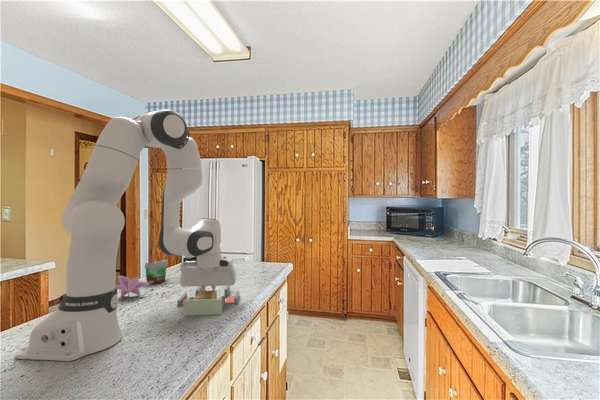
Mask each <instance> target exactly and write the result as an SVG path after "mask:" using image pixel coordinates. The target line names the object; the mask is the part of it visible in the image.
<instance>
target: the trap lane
mask: <svg viewBox="0 0 600 400" xmlns="http://www.w3.org/2000/svg"><path fill="white" fill-rule="evenodd" d="M230 286H231V285H226V286H224V295H221V297H220V298H217V299H196V297H197V295H198V294H199V292H200V291H202V289H201V286H197V288H196V289H195V296H190V297H188V292H183V293H182V295H180V297H178V299H177V304H176V305H177V307H182V306H183V316H210V315H222V313H223V311H224V308H225V305H229V304H230V305H233V304H234V305H238V302H239V299H240V291H238V290H237V291H236V292H235V294H234V295H229V294H230V292H231V291H230V289H231V287H230Z"/></svg>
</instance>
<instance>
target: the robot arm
mask: <svg viewBox="0 0 600 400" xmlns="http://www.w3.org/2000/svg"><path fill="white" fill-rule="evenodd" d="M152 148H157V149H158V148H159V149H161V150H162V151H163V153H164V156H165V159H166V169H167V171H166V172H167V173H166V174H167V176H166V177H167V178H166V184H165V186H164V187H163V190H162V196H161V197H162V198H161V225H160V227H161V228H160V233H159V236H158V237H159V238H158V247H159V249H160V250H161V252H162V253H163V254H165V255H167V256H184V257H195V256H197V261H185V262H184V263H183V262H182V263H181V264H180V265H179V267H180V283H179V284H180V286H181V287H182V288H184V287H185V288H186V287H188V288H189V287H199V286H201V289H202V291H207V289H206V288H207V287H211V291H215V290H216V288H217V287H218V286H219V287H221V286H223V287H226V285H230V286H234V285H235V284H236V283H237V273H236V268H235V266H234V265H233V263H234V262H233V261H234V259H233V258H232V257H231V256H227V255H223V254H222V250H221V244H222V228H221V223H220V221H219V220H218V219H215V218H210V217H209V218H207V217H202V218H199V219H198V222H197V223H196V224H194V225H193V226H191V227H190V228H183V227H181V225H180V214H181V213H180V212H181V203H182V202H183V200H184V199H185V198H187V197H188V196H190V195H192V194H193V193H195V192H196V191H197V190H198V189H200V187H201V185H202V181H203V172H202V162H201V156H200V155H201V154H200V151H199V146H198V145H197V142H196V140H195V139H194V138H193V137H190V132H189V130H188V126H187V123H186V121H185V119H184V117H183V116H182V115H181V114H180V113H179V112H178V111H175V110H173V109H172V110H171V109H160V110H156V111H149V112H146V113H144V114H142V115H138V116H136V117H134V118H133V119H132V118H130V117H125V116H116V117H112V118H110V120H108V122H107V123H106V124H105V126H104V128H103V129H102V131H101V133H100V134H99V136H98V138H97V141H96V142H95V145H94V147H93V150H92V152H91V155H90V157H89V159H88V163H87V165H86V167H85V170H84V172H83V174H82V175H81V178H80V180H79V182H78V183H77V184H76V187H75V188H74V191H73V193H72V194H71V196H70V199H69V201H68V203H67V204H66V206H65V209H64V211H63V213H62V216H61V222H62V227H63V228H64V230H65V231H66V232H67V233H68V234H70V245H69V251H68V258H67V261H66V264H65V266H66V267H65V270H66V271H65V275H66V276H65V282H66V283H65V293H63V294H61V295H60V296H59V297H57V298H55V299H54V303H53V304H58V303H59V305H58V307H57V308H56V309H55V310H54V311H53V312H51V313H50V314H48V316H46V317H45V318H44V319H43V320H41V321H40V322H38V323H37V324H36V325H35V326H34V327H33V328H32V330H31V331H30V332H31V333H30V336H29V339H28V342H27V343H25V344H24V345H23V346H22V347H20V348H19V349H18V350H17V352H16V355H15V359H20V360H36V361H37V360H39V361H41V360H43V361H56V362H57V361H59V362H62V361H63V362H72V361H75V360H77V359H80V358H82V357H85V356H87V355H90V354H94V353H97V352H100V351H103V350H106V349H108V348H111V347H112V346H114V345H116V344H117V343H118V342H119V341H121V340H122V338H123V334H122V332H121V328H120V325H119V320H118V313H117V307H118V303H119V302H118V301H119V300H118V299H119V297H118V289H117V287H116V286H117V284H116V283H117V282H116V276H117V275H116V274H117V273H116V272H117V271H116V269H117V268H116V265H117V256H118V250H119V246H120V242H121V241H120V240H121V233H122V231H123V230H124V226H125V224H126V223H125V222H126V220H125V216H124V213H123V212H122V210H121V209H120V208H119V207H118V206H117V204H118V203H119V202H120V200H121V198H122V196H123V195H124V193H125V192H126V190H127V189H128V188H129V186H130V184H131V181H132V178H133V175H134V173H135V170H136V168H137V164H138V162H139V158H140V156H141V153H142V151H143V149H152Z"/></svg>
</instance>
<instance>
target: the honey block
mask: <svg viewBox="0 0 600 400" xmlns="http://www.w3.org/2000/svg"><path fill="white" fill-rule="evenodd" d="M217 292H218V291H217V290H216V289H215V290H214V291H212V290H206V291H200V292H199V294H198V295H197V297H196V296H195V297H196V298H195V299H218V298H217V297H218V296H217V295H218V293H217Z"/></svg>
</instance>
